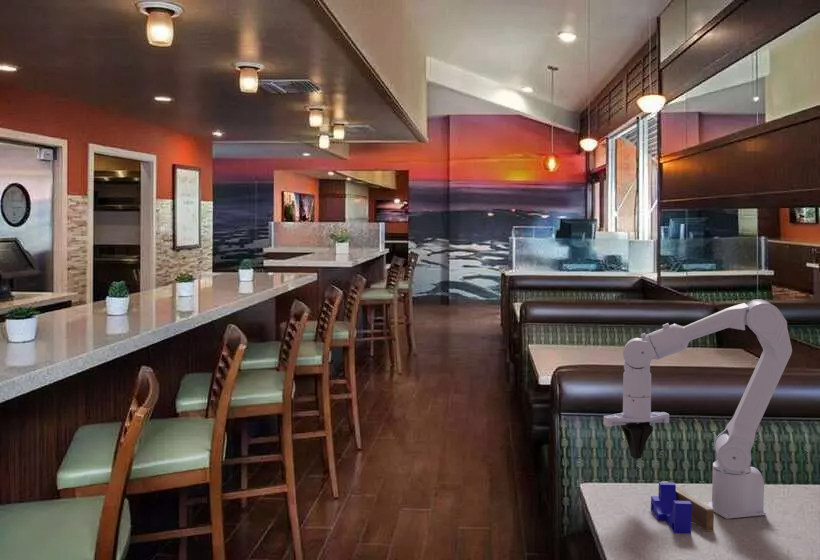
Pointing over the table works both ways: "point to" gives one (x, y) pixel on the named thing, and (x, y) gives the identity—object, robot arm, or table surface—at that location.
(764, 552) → the table surface
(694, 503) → the bar
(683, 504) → the cable clip
